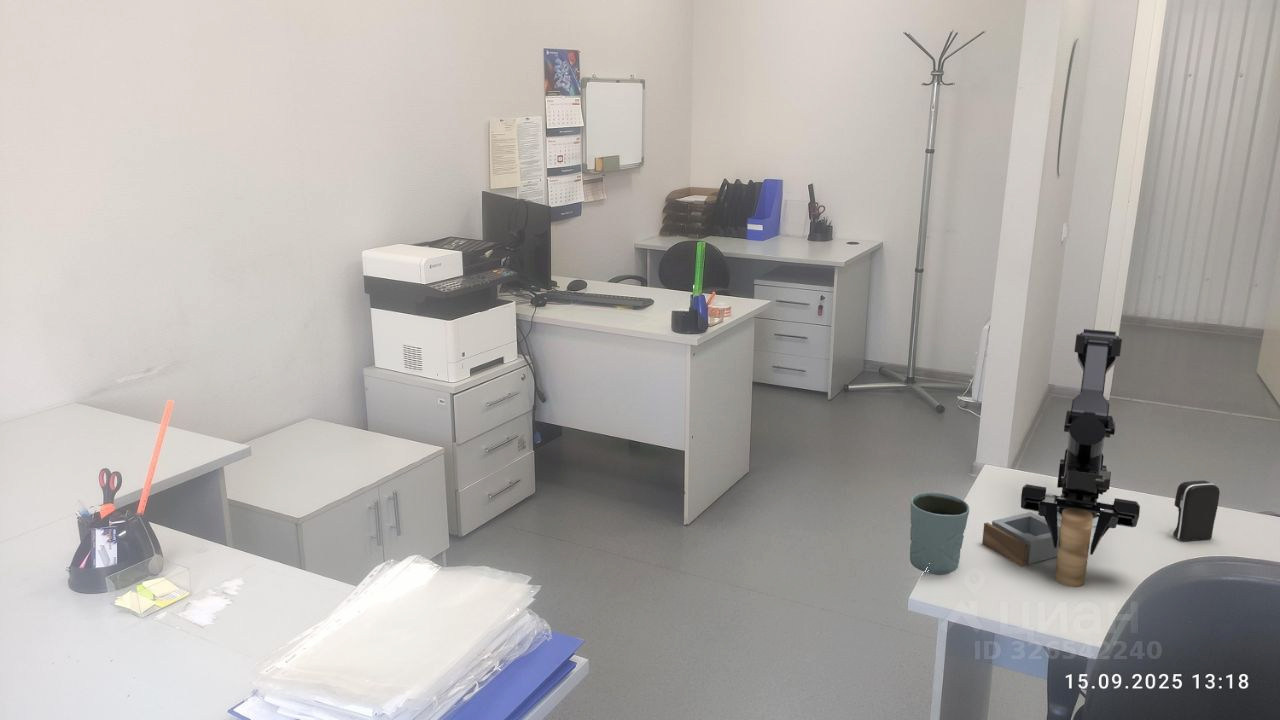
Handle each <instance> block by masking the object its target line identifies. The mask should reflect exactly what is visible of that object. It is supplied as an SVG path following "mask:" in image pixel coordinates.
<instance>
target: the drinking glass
mask: <svg viewBox="0 0 1280 720" xmlns="http://www.w3.org/2000/svg"><path fill="white" fill-rule="evenodd" d="M969 513H970V506H969V504H968V503H967V502H966V501H965V500H963V499H962V498H959V497H958V496H957V497H956V496H954V495H949V494H946V493H939V492H923V493H918V494H916V495H913V496H912V497H911V498H910V529H909V530H910V547H909V550H910V551H909V561H910V563H911V565H912V566H913V567H914V568H915V569H917V570H918V571H922V572H924V571H925V570H926V568H927V567H928V568H927V570H926V572H925V573H927V571H928V570H929V571H928V572H929V573H928V574H932V575H934V574H935V575H948V574H951V573H953V572H955V571H956V570H957V569H958V568H959V563H960V558H961V549H962V547H963V542H964V537H965V536H964V533H965V530H966V527H967V523H968V520H969V519H968V518H969ZM929 563H930V564H929Z"/></svg>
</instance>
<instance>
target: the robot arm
mask: <svg viewBox="0 0 1280 720" xmlns="http://www.w3.org/2000/svg"><path fill="white" fill-rule="evenodd" d="M1122 344H1123V337H1121V336H1120V337H1119V336H1118V335H1117V331H1112V330H1099V329H1090V328H1084V329H1083V331H1082V332H1081V333H1076V335H1075V343H1074V351H1073V352H1074V353H1077V362H1078V364H1079V366H1080V368H1081V369H1082V371H1083V372H1082V377H1081V378H1082V379H1081V384H1080V385H1081V386H1080V387H1081V388H1080V393H1079V394H1078V395H1076V396H1075V397H1074V398H1073V399H1072V401H1071V407H1070V408H1071V409H1070V410H1066V413H1065V414H1066V415H1065V420H1064V425H1063V427H1064V428H1063V432H1064V433H1068V438H1067V448H1066V449H1065V452H1064V459H1063V458H1060V460H1059V461H1060V462H1059V467H1058V476H1057V485H1056V488H1059V489H1060V488H1062V489H1061V494H1060V495H1059V496H1058V495H1055V494H1053V493H1047V487H1046V486H1039V485H1034V484H1033V485H1032V484H1026V483H1025V485H1023V486H1022V488H1021V496H1020V508H1021V509H1024V510H1028V511H1034V512H1038V514H1037V516H1039V517H1042V518H1043V519H1045V520H1046V522H1047V524H1048V527H1049V530H1050V533H1051V537H1052V541H1053V545H1054V548H1057V541H1058V526H1059V525H1058V518H1057V512H1059V513H1060V514H1062V511H1063V510H1064V509H1066V508H1079V509H1083V510H1086V511H1088V512H1090V513H1092V515H1093V518H1096V517H1099V518H1098V522H1097V525H1096V527H1095V529H1094V533H1093V536H1092V540H1091V545H1090V549H1089V550H1090V552H1089V554H1090V556H1092V555H1094V553H1095V551H1096V549H1097V547H1098V545H1099V544H1100V541H1101V540H1102V538H1103V537H1104V535H1105V534H1106V533H1107V532H1108V530H1109V529H1116V528H1117V526H1121V527H1122V526H1123V527H1128V528H1136V527H1137V524H1138V522H1139V518H1140V513H1141V512H1140V510H1141V505H1140V504H1139V503H1138V501H1134V500H1129V499H1123V498H1116V497H1115V498H1114V500H1113V504H1110V503H1105V502H1099V501H1098V499H1099V496H1100V495H1103V493H1107V491H1109V490H1110V486H1111V485H1110V483H1111V477H1112V476H1111V475H1112V471H1108V469H1107V465H1104V464H1103V463H1104V457H1105V456H1104V454H1103V450H1104V445H1105V439H1106V438H1111V435H1112V436H1114V435H1115V432H1116V422H1115V421H1114V417H1113V415H1109V410H1110V403H1109V402H1108V400H1107V399H1106V397H1105V396H1104V394H1105V393H1104V392H1105V387H1106V386H1105V383H1106V376H1107V373H1108V372H1109V371H1110V370H1111V368H1113V366H1114V365H1115V363H1116V358H1117V357H1121V351H1122ZM1057 507H1059V508H1057Z"/></svg>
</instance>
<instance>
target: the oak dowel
mask: <svg viewBox="0 0 1280 720" xmlns="http://www.w3.org/2000/svg"><path fill="white" fill-rule="evenodd" d="M1060 521H1061V522H1060V527H1061V528H1060V536H1059V545H1058V553H1057V557H1056V563H1055V571H1054V580H1055V581H1056V582H1057V583H1059V584H1060V585H1063V586H1065V587H1069V588H1070V587H1072V588H1080V587H1082V586H1084V585H1085V581H1086V574H1087V566H1088V560H1089V559H1088V558H1089V553H1090V552H1089V550H1090V543H1091V537H1092V536H1091V535H1092V528H1093V527H1092V521H1093V515H1092V513H1090V512H1088V511H1086V510H1083V509H1079V508H1066V509H1064V510H1063V511H1062V519H1061V520H1060Z"/></svg>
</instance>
